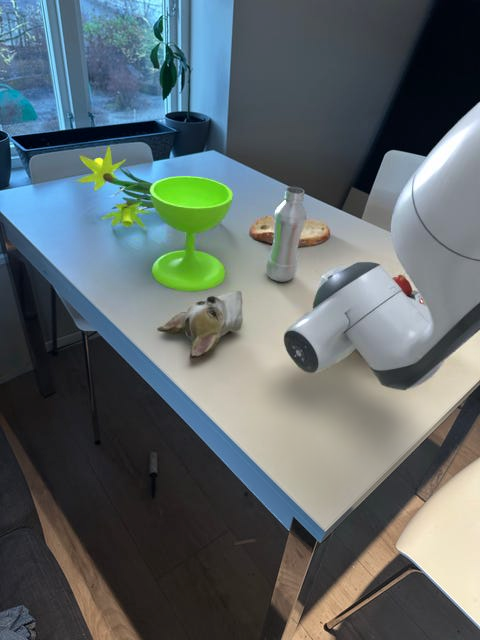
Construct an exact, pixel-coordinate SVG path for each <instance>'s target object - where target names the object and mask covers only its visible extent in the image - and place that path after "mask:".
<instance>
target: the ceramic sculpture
mask: <svg viewBox="0 0 480 640" xmlns="http://www.w3.org/2000/svg"><path fill="white" fill-rule="evenodd" d="M243 322H244V319H243V294H242V291H241V290H238V291H234V292H227V293H224V294H222V295H220V296H214V295H209V296H206V298H205V299H204V300H201V301H200V300H199V301H197V302H195V304H193V305H190V306H189V307H188V308H187V309H186V311H181V312H180V313H178V314H176V315H174V316H173V317H172V318H171V319H170V320H168V322H166V324H164V325H162V326H159V327H157V328H156V329H157V331H158V332H161V333H166V334H171V335H179V334H181V333H183V332H185V335H186V336H187V338H188V339H190V340H191V341H192V344H191V346H190V353H189V356H188V359H189V360H195V359H200V358H203V357H205V356H207V355H209V354H210V353H211V352H212V351H213V350H214V349H215V347H217V345H218V343H219V341H220V339H221V337H223V336H225V334H227V333H228V332H232V333H236V332H238V331H239V330H240V329H241V328H242V326H243Z"/></svg>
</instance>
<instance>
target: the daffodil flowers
mask: <svg viewBox="0 0 480 640" xmlns="http://www.w3.org/2000/svg"><path fill="white" fill-rule="evenodd" d="M78 157H79V159H80V161H82V163H83V164H84V166H86V168H87V169H89V170H90V171H92V172H93V173H90V174H88V175H86V176H83V177H81V178H79V179H76V181H75V182H76V183H81V184H90V183H93V182H94V187H93V192H94V191H97V190H100V189H101V188H103V187H104V185H105V183H106V182H107V183H109V184H111V185H112V184H113V185H115V186H120V187H118V188H119V189H120V190H117V191H116V192H115V193H114V194H112V195H111V196H110V198H112V197H114V196H116V195H118V194H119V193H121V192H122V193H124V194H125V195H126V196H129V197H131V198H129V197H122V199H123V200H124V201H125V202H120V203H116V204H115V205H114V206H113V207H111V210H115V209H116V210H117V211H113V212H109V213H107V214H105V215H104V216H103V217H102V218H100V219H99V220H100V221H102V220H103V221H104V220H106V219H112V221H111V225H110V226H111V228H112V227H114V226H116V225H118V224H119V223H121V226H123V227H125V228H131V227H133V226H134V223H136V224H137V225H138V226H140V227H141V228H142V229H143V230H147V228H146V226H145V224H144V222H143V221H142V220H141V218H140V217H139V215H140V214H151V215H155V214H157V212H152V211H149V210H146V209H155V208H154V205H153V203H152V201H151V195H150V187H151V186H152V184H153V183H154V182H149V181H146V180H144V179H140V178H139V177H136V176H135V175H134V174H133V173H131V172H130V170H128V169H127V168H126V167H124V168H125V170H124V169H123V168H122V167H121V166H122V165H123V164H124V163H125V162H126V161H127V158H124V159H123V160H122V161H119V162H116V163H114V164H113V157H112V151H111V146H110V145H108V147H107V148H106V152H105V155H104V157H103V158H101V157H98V158H97V157H96V158H95V159H91V158H88V157H86V156H84V155H81V154H79V155H78ZM117 169H118V170H120V172H122V173H123V175H125V176H126V177H127V178H129V179H130V180H132V181H129V180H121V179H118V178H117V176H116V175H115V173H114V172H115V171H116V170H117ZM139 207H141V208H139ZM138 214H139V215H138Z"/></svg>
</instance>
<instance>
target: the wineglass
mask: <svg viewBox="0 0 480 640" xmlns="http://www.w3.org/2000/svg"><path fill="white" fill-rule="evenodd" d="M152 183H153V184H152V186H151V187H150V194H149V196H151V202H152V203H153V205H154V208H153V209H154V210H155V213H156V214H157V215H158V217H159V218H160V219H161V220H162V221H163V222H164V223H165V224H166V225H167V226H169V227H171V228H172V229H174V230H177V232H181V233H185V242H184V243H185V244H184V245H185V246H184V248H185V249H181V250H175V251H170V252H167V253H165V254H163V255H161V256H159V257H158V258H157V259H156V260H155V261H154V263H153V265H152V267H151V274H152V277H153V279H155V280H156V281H157V282H158V283H159V284H161V285H162V286H164V287H166V288H169V289H172V290H176V291H180V292H181V291H182V292H201V291H207V290H210V289H213V288H215V287H216V286H218V285H221V283H222V282H223V281H224V280H225V278H226V269H225V266H224V264H223V263H222V262H221V261H220V260H219V259H218V258H217V257H215V256H213V255H211V254H209V253H206V252H203V251H200V250H195V247H196V246H195V243H196V234H199V233H200V234H201V233H204V232H206V231H209V230H211V229H213V228H215V227H217V225H218V224H220V223H221V222H222V221H223V220H224V219H225V217H226V216H227V214H228V213H229V210H230V208H231V205H232V201H233V198H234V194H233V191H232V189H230V187H229V186H227V185H225V184H224V183H223V182H219V181H217V180H215V179H210V178H207V177H201V176H194V175H177V176H175V175H174V176H169V177H165V178H161V179H159V180H157V181H154V182H152Z"/></svg>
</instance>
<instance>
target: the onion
mask: <svg viewBox="0 0 480 640" xmlns="http://www.w3.org/2000/svg"><path fill="white" fill-rule="evenodd" d="M392 278H393V280H394V281H395V282H396V283H397V284H398V286H399V287H400V288H401V289H402V291H403V292H404V293H405V295H406V296H407V297H410V294H411V292H413V291H414V290H413V287H412V284H411V283H410V281H409V280H408V279H407V278H406V276H405V274H402V273H400V274H398V275H397V276H393V277H392Z"/></svg>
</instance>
